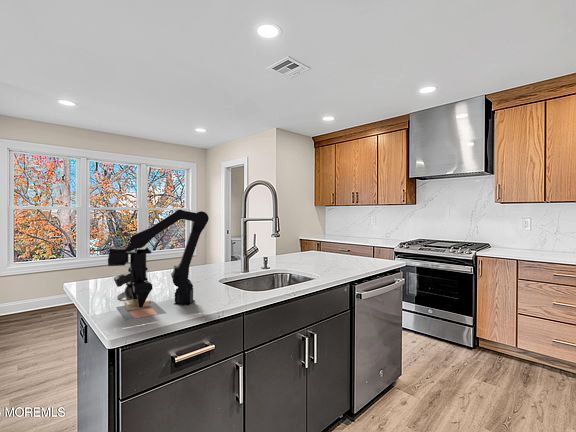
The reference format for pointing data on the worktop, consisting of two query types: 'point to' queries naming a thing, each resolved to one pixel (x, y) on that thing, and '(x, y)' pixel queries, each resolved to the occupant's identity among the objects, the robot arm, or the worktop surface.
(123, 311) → the mat
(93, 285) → the worktop surface
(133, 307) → the card box
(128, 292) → the ceramic mug
